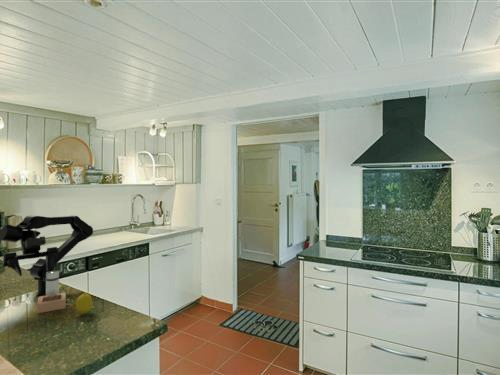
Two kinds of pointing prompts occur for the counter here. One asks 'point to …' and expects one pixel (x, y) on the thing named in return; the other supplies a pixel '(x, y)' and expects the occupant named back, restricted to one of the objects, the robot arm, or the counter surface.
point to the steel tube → (52, 285)
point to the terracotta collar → (51, 303)
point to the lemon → (84, 303)
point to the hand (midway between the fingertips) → (34, 273)
